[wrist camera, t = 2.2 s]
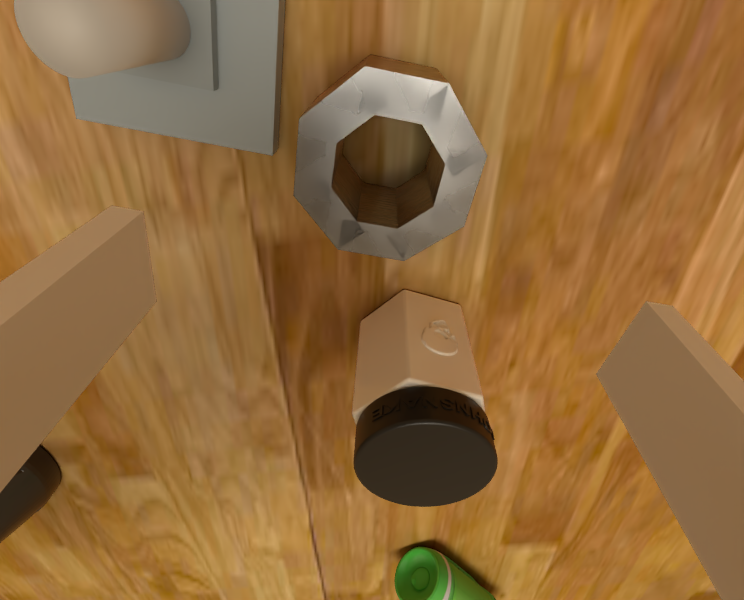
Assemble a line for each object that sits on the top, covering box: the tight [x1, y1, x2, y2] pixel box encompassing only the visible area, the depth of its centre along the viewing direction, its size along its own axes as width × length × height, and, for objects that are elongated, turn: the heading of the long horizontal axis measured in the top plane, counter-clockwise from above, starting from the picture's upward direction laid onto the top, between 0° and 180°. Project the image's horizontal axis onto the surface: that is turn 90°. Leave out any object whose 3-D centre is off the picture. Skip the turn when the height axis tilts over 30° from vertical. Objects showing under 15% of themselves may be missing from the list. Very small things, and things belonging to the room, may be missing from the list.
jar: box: [352, 290, 497, 507], centre depth 28 cm, size 9×8×12 cm
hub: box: [294, 54, 487, 261], centre depth 23 cm, size 9×9×6 cm
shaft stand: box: [14, 0, 285, 156], centre depth 18 cm, size 11×11×10 cm
